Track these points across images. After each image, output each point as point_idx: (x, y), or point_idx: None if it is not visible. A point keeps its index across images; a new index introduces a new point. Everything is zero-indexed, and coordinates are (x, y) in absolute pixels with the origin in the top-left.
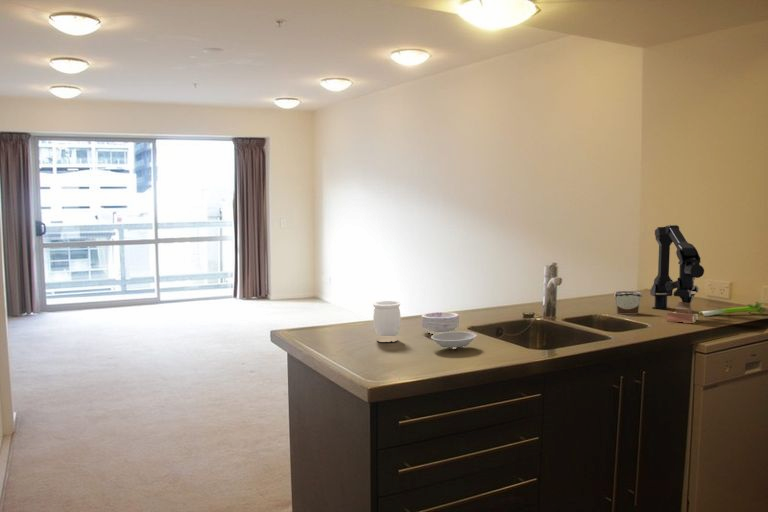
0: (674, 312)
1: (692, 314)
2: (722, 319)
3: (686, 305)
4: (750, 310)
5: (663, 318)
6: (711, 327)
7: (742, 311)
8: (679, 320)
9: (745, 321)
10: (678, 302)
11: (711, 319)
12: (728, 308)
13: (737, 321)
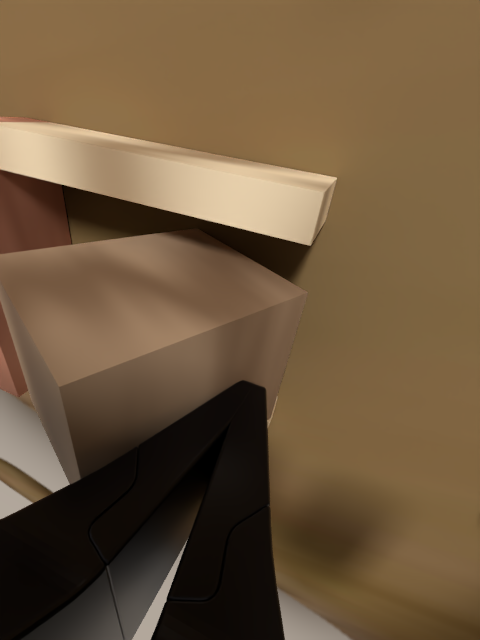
0: (262, 207)
1: (10, 391)
2: (355, 559)
3: (52, 439)
4: None
5: (192, 14)
6: None
7: None
8: None
9: (318, 614)
10: (51, 374)
11: (329, 503)
12: None
13: (302, 587)
